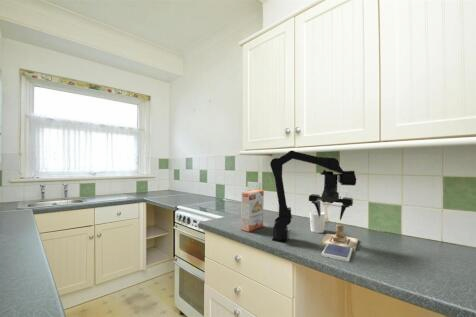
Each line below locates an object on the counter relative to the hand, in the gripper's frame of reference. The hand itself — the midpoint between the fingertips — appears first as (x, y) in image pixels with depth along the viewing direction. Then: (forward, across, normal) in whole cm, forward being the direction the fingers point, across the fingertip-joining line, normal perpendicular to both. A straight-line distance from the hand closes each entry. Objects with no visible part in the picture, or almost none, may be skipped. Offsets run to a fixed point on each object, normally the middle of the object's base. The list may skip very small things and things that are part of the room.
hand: (329, 218), depth 108 cm
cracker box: (+13, -41, +1) cm, 43 cm away
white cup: (+12, -9, +15) cm, 21 cm away
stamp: (+10, +4, +3) cm, 11 cm away
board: (+11, +4, +3) cm, 12 cm away
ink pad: (+11, +5, -11) cm, 17 cm away
